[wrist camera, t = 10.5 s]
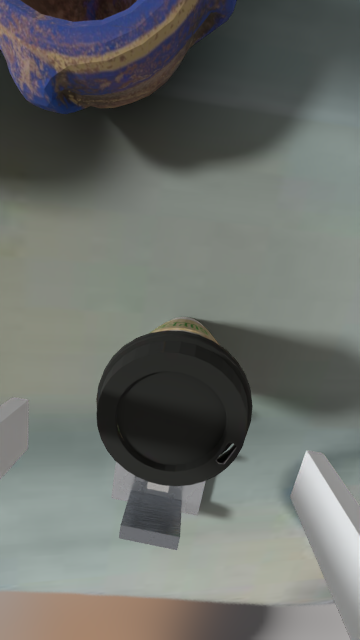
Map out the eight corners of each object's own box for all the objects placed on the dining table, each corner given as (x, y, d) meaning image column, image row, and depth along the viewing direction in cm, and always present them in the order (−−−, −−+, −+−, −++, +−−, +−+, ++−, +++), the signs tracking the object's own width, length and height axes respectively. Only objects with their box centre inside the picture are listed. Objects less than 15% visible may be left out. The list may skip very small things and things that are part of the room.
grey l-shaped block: (125, 403, 30) (110, 433, 24) (217, 420, 29) (222, 455, 24) (114, 489, 33) (98, 533, 27) (197, 506, 33) (197, 554, 27)
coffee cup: (167, 285, 26) (131, 305, 12) (241, 327, 27) (297, 397, 12) (129, 355, 28) (58, 447, 14) (198, 393, 29) (201, 521, 14)
